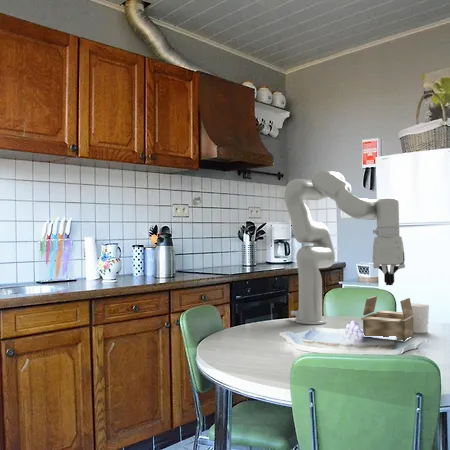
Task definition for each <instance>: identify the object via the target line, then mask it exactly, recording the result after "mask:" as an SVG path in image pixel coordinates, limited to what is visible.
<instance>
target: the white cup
mask: <svg viewBox="0 0 450 450" xmlns="http://www.w3.org/2000/svg"><path fill="white" fill-rule="evenodd" d="M411 306H412V311H413V313H414V315H412V316H413V333H414V334H415V333H416V334H426V333H428V330H429V329H428V328H429V327H428V325H429V317H430V316H429V315H430V305H429V304H427V303H418V302H417V303H415V302H413V303H412V302H411Z"/></svg>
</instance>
